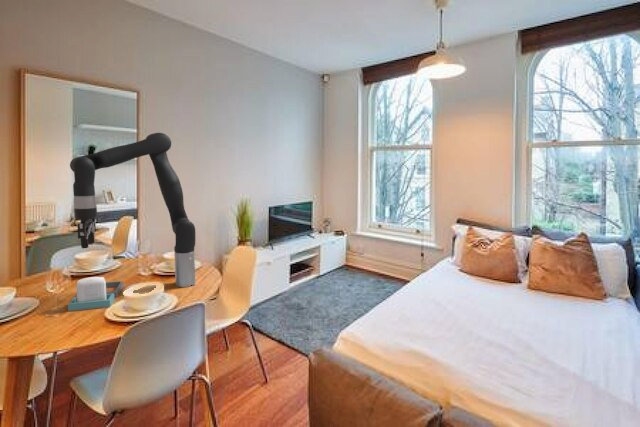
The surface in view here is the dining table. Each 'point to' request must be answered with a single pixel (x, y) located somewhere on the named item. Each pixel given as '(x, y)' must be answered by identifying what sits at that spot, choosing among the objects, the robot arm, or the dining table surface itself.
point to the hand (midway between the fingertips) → (88, 245)
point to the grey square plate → (115, 284)
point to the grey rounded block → (91, 289)
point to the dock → (91, 303)
